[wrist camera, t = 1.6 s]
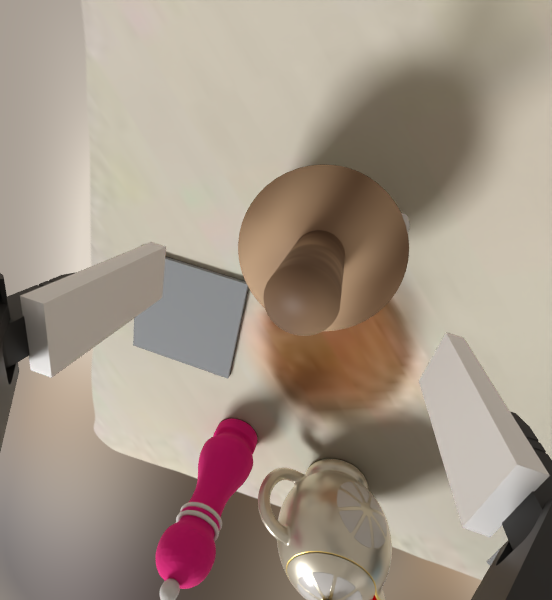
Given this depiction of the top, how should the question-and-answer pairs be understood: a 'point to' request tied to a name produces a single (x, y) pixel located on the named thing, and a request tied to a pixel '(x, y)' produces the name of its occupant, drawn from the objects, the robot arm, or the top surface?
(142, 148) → the top surface
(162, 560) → the pepper mill
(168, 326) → the mat
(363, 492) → the teapot
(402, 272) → the lid
